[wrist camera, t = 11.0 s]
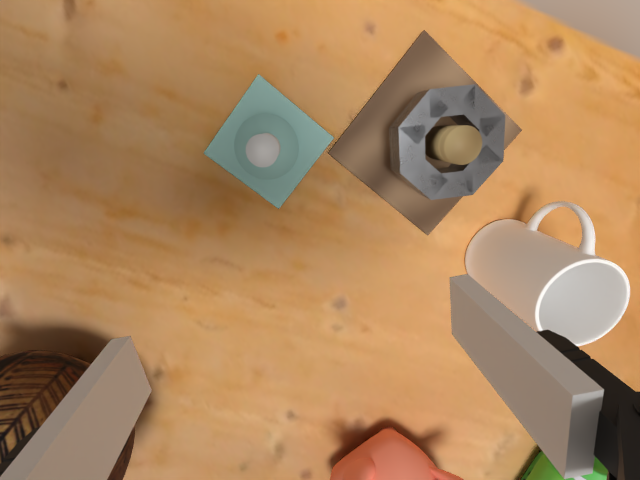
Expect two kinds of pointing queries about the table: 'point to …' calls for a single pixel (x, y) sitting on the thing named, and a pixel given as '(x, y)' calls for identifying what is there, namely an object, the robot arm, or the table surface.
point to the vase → (40, 397)
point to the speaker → (545, 476)
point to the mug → (550, 276)
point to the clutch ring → (419, 119)
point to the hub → (440, 142)
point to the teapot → (388, 461)
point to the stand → (268, 142)
